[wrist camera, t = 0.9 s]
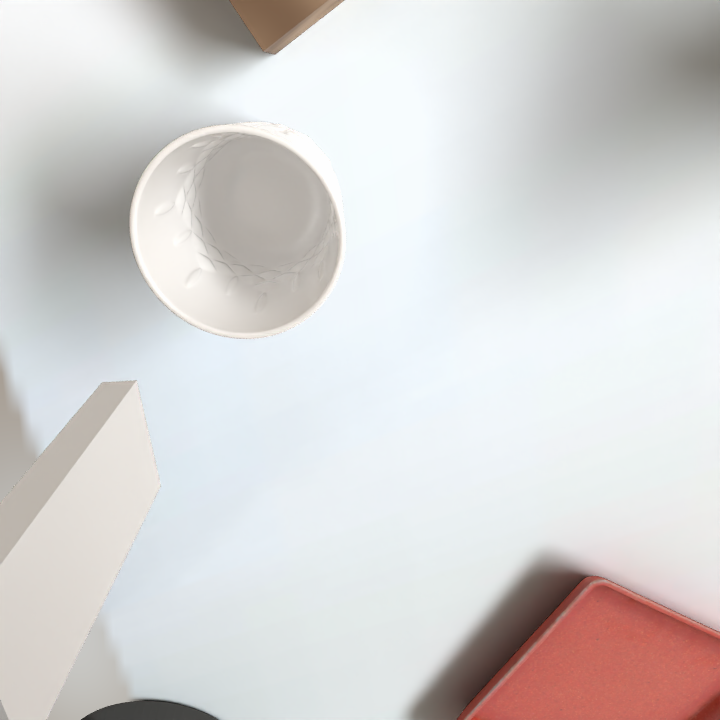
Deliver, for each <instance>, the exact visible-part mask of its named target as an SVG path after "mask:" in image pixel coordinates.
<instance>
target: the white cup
mask: <svg viewBox="0 0 720 720" xmlns="http://www.w3.org/2000/svg"><path fill="white" fill-rule="evenodd" d="M129 228H130V239H131V245H132V249H133V253H134V256H135V259H136V262H137V265H138V267H139V269H140V272H141V274H142V276H143V277H144V279H145V281H146V283H147V284H148V286H149V287H150V289H151V290H152V291H153V293H154V294H155V295H156V296H157V298H158V299H159V300H160V301H161V302H162V303H163V304H164V305H165V306H166V307H167V308H168V309H169V310H171V311H172V312H173V313H174V314H175V315H177V316H178V317H180V318H181V319H182V320H184V321H186V322H187V323H189V324H191V325H193V326H195V327H197V328H199V329H201V330H203V331H206V332H209V333H212V334H215V335H219V336H223V337H229V338H237V339H255V338H263V337H268V336H272V335H276V334H279V333H282V332H284V331H287V330H289V329H291V328H293V327H295V326H297V325H299V324H300V323H302V322H303V321H305V320H306V319H307V318H309V317H310V316H311V315H312V314H313V313H315V312H316V311H317V310H318V309H319V308H320V307H321V305H322V304H323V303H324V302H325V300H326V299H327V298H328V296H329V295H330V293H331V292H332V290H333V288H334V286H335V284H336V282H337V280H338V278H339V275H340V272H341V269H342V265H343V261H344V256H345V247H346V233H345V223H344V211H343V202H342V197H341V192H340V188H339V184H338V181H337V178H336V175H335V173H334V171H333V169H332V166H331V162H330V160H329V159H328V158H327V156H326V155H325V154H324V153H323V152H322V151H321V150H320V149H319V147H318V146H317V145H316V144H315V143H314V142H313V141H312V140H311V138H310V137H309V136H307V135H305V134H302V133H300V132H297V131H295V130H293V129H290V128H288V127H286V126H283V125H281V124H273V123H266V122H244V123H234V124H225V125H215V126H209V127H204V128H201V129H197V130H194V131H192V132H189V133H187V134H185V135H183V136H181V137H179V138H177V139H176V140H174V141H172V142H171V143H170V144H168V145H167V146H166V147H164V148H163V149H162V150H161V151H160V152H159V153H158V154H157V155H156V156H155V157H154V158H153V159H152V160H151V162H150V163H149V164H148V166H147V167H146V169H145V170H144V172H143V174H142V175H141V177H140V179H139V181H138V184H137V186H136V189H135V192H134V195H133V199H132V203H131V209H130V220H129Z"/></svg>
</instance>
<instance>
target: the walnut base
mask: <svg viewBox="0 0 720 720" xmlns="http://www.w3.org/2000/svg"><path fill="white" fill-rule="evenodd" d="M229 1H230V2H231V4H232V5H233V7H234V8H235V10H236V11H237V13H238V14H239V16H240V17H241V19H242V20H243V22H244V23H245V25H246V26H247V28H248V29H249V31H250V32H251V34H252V35H253V37H254V38H255V40H256V41H257V43H258V44H259V46H260V47H261V49H262V50H263V51H264V52H268V53H272V54H276V53H278V52H279V51H280V50H282V49H283V48H284V47H285V46H287V45H288V44H289V43H290V42H292V41H293V40H294V39H296V38H297V37H298V36H299V35H301V34H302V33H303V32H305V31H306V30H307V29H308V28H310V27H311V26H312V25H313V24H315V23H316V22H317V21H319V20H320V19H321V18H322V17H324V16H325V15H326V14H328V13H329V12H330V11H331V10H333V9H334V8H335V7H337V6H338V5H339V4H340V3H342V2H343V1H344V0H229Z"/></svg>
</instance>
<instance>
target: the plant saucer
mask: <svg viewBox="0 0 720 720" xmlns="http://www.w3.org/2000/svg"><path fill="white" fill-rule="evenodd" d="M457 720H720V632H718V631H716V630H713V629H711V628H709V627H707V626H705V625H703V624H701V623H699V622H696V621H694V620H692V619H690V618H688V617H686V616H684V615H681V614H679V613H677V612H675V611H673V610H671V609H669V608H666V607H664V606H662V605H660V604H658V603H656V602H654V601H652V600H649V599H647V598H645V597H643V596H641V595H639V594H637V593H635V592H633V591H631V590H628V589H626V588H624V587H622V586H620V585H618V584H616V583H614V582H611V581H609V580H607V579H605V578H602V577H599V576H590V577H586V578H584V579H583V580H582V581H581V582H580V583H579V584H578V585H577V586H576V587H575V588H574V589H573V590H572V592H571V593H570V594H569V595H568V596H567V597H566V598H565V599H564V600H563V602H562V603H561V604H560V605H559V606H558V607H557V608H556V609H555V610H554V611H553V613H552V614H551V615H550V616H549V617H548V618H547V619H546V620H545V621H544V622H543V623H542V624H541V626H540V627H539V628H538V629H537V630H536V631H535V632H534V633H533V634H532V635H531V636H530V638H529V639H528V640H527V641H526V642H525V643H524V644H523V645H522V646H521V647H520V648H519V649H518V651H517V652H516V653H515V654H514V655H513V656H512V657H511V658H510V659H509V660H508V662H507V663H506V664H505V665H504V666H503V667H502V668H501V669H500V670H499V671H498V672H497V673H496V675H494V677H493V678H492V679H491V680H490V681H489V682H488V683H487V684H486V685H485V686H484V688H483V689H482V690H481V691H480V692H479V693H478V694H477V695H476V696H475V697H474V698H473V700H472V701H471V702H470V703H469V704H468V705H467V707H466V708H465V709H464V710H463V712H462V713H461V714H460V716H459V717H458V719H457Z"/></svg>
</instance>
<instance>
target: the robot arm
mask: <svg viewBox="0 0 720 720" xmlns="http://www.w3.org/2000/svg"><path fill="white" fill-rule="evenodd" d="M160 487H161V484H160V479H159V475H158V470H157V466H156V462H155V457H154V453H153V449H152V444H151V440H150V436H149V431H148V427H147V423H146V418H145V414H144V410H143V405H142V401H141V397H140V392H139V388H138V384H137V380H135V381H118V382H102V383H101V384H100V386H99V387H98V388H97V389H96V390H95V391H94V393H93V394H92V395H91V396H90V397H89V399H88V400H87V401H86V402H85V403H84V404H83V406H82V407H81V408H80V409H79V410H78V412H77V413H76V414H75V415H74V416H73V417H72V419H71V420H70V421H69V422H68V423H67V425H66V426H65V427H64V428H63V429H62V430H61V432H60V433H59V434H58V435H57V436H56V438H55V439H54V440H53V441H52V442H51V443H50V445H49V446H48V447H47V448H46V449H45V451H44V452H43V453H42V454H41V455H40V456H39V458H38V459H37V460H36V461H35V462H34V464H33V465H32V466H31V467H30V468H29V469H28V471H27V472H26V473H25V474H24V475H23V477H22V478H21V479H20V480H19V481H18V482H17V484H16V485H15V486H14V487H13V488H12V490H11V491H10V492H9V493H8V494H7V496H6V497H5V498H4V499H3V500H2V501H1V503H0V720H47V718H48V716H49V714H50V712H51V710H52V707H53V706H54V704H55V702H56V700H57V697H58V695H59V693H60V691H61V689H62V687H63V685H64V683H65V681H66V679H67V677H68V675H69V673H70V671H71V669H72V667H73V665H74V663H75V661H76V659H77V657H78V655H79V652H80V651H81V648H82V646H83V644H84V642H85V640H86V638H87V636H88V634H89V632H90V630H91V628H92V626H93V624H94V622H95V620H96V618H97V616H98V614H99V612H100V610H101V608H102V606H103V604H104V601H105V599H106V597H107V595H108V593H109V591H110V589H111V587H112V585H113V583H114V581H115V579H116V577H117V575H118V573H119V571H120V569H121V567H122V565H123V563H124V561H125V559H126V557H127V555H128V552H129V550H130V548H131V546H132V544H133V542H134V540H135V538H136V536H137V534H138V532H139V530H140V528H141V526H142V524H143V522H144V520H145V518H146V516H147V514H148V512H149V510H150V508H151V505H152V503H153V501H154V499H155V497H156V495H157V493H158V491H159V489H160ZM81 720H218V719H216V718H214V717H212V716H210V715H208V714H206V713H203V712H201V711H199V710H196V709H193V708H190V707H186V706H182V705H178V704H173V703H167V702H158V701H134V702H125V703H120V704H115V705H111V706H108V707H105V708H102V709H99V710H97V711H95V712H93V713H91V714H89V715H87V716H86V717H84V718H83V719H81Z"/></svg>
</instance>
